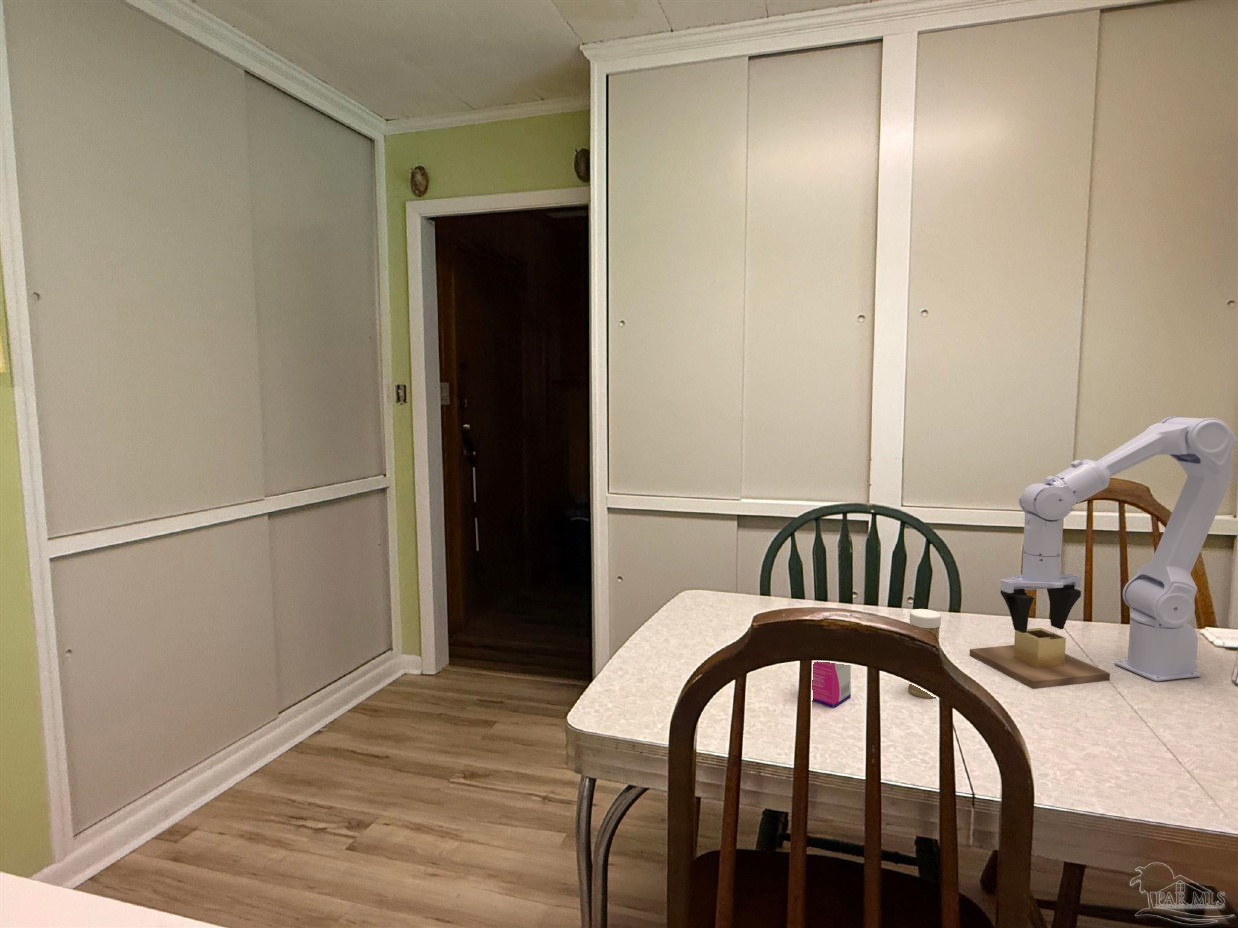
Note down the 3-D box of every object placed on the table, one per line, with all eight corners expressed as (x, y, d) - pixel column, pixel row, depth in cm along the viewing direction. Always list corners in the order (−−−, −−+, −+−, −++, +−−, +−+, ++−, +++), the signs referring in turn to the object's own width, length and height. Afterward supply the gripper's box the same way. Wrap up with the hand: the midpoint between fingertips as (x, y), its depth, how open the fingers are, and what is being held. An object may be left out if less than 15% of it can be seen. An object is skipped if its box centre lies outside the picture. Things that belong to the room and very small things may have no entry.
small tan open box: (1039, 654, 126) (1041, 627, 125) (1064, 665, 121) (1065, 637, 120) (1013, 657, 125) (1014, 629, 124) (1037, 668, 120) (1038, 640, 119)
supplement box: (818, 686, 116) (819, 619, 115) (851, 697, 112) (853, 627, 111) (799, 697, 112) (800, 628, 111) (833, 708, 108) (835, 636, 107)
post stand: (1039, 648, 132) (1040, 622, 132) (1109, 680, 118) (1111, 651, 117) (969, 655, 129) (970, 629, 129) (1032, 688, 115) (1034, 658, 114)
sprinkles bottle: (943, 694, 113) (946, 613, 111) (927, 701, 110) (930, 618, 109) (918, 684, 116) (920, 606, 115) (901, 691, 114) (903, 611, 113)
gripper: (1023, 560, 116) (1020, 640, 117) (1097, 555, 119) (1093, 633, 120) (992, 551, 123) (990, 626, 124) (1063, 546, 126) (1059, 620, 127)
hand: (1038, 629), depth 123 cm, fingers open, 7 cm apart
